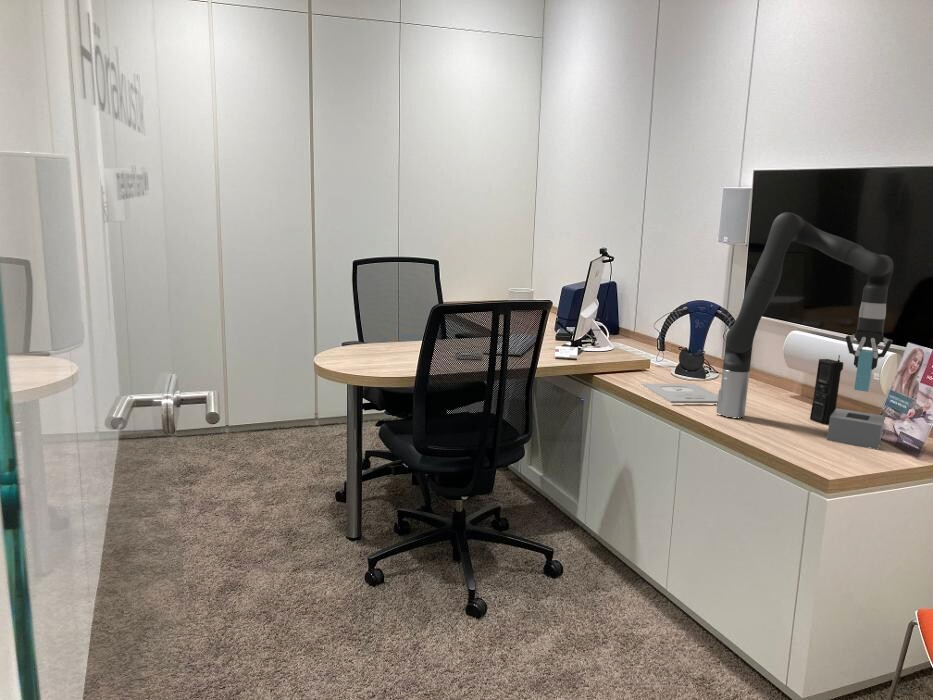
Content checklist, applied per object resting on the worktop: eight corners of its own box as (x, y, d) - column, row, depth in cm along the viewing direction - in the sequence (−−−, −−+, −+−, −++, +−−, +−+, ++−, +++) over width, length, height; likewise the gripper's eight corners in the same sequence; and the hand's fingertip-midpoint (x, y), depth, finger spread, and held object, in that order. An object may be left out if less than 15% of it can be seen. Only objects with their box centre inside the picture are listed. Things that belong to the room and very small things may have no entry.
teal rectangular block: (854, 389, 241) (859, 350, 239) (856, 387, 245) (861, 349, 243) (867, 391, 239) (873, 352, 237) (869, 389, 243) (874, 350, 241)
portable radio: (806, 418, 270) (814, 352, 266) (818, 417, 272) (827, 351, 268) (823, 424, 263) (832, 356, 258) (835, 423, 265) (845, 355, 261)
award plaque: (670, 406, 281) (670, 400, 281) (639, 388, 310) (639, 383, 310) (729, 406, 286) (730, 400, 285) (693, 388, 315) (693, 383, 314)
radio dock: (826, 440, 243) (829, 416, 242) (833, 430, 255) (836, 408, 254) (878, 449, 235) (881, 425, 234) (882, 439, 247) (885, 416, 246)
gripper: (846, 315, 239) (839, 366, 242) (896, 319, 231) (888, 373, 234) (848, 313, 245) (842, 363, 248) (897, 317, 237) (890, 369, 240)
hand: (864, 367), depth 241 cm, fingers closed on teal rectangular block, 4 cm apart
